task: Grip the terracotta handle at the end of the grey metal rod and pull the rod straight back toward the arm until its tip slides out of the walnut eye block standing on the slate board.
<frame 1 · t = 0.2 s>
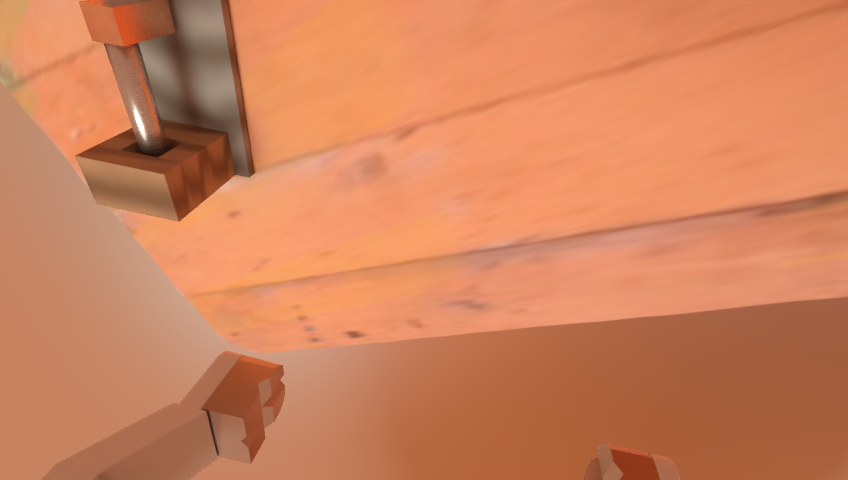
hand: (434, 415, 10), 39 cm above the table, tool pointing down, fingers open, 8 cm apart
eye post: (176, 36, 45), on the table
hook rod: (157, 108, 45), point 6 cm above the table, slide at 0.0 cm
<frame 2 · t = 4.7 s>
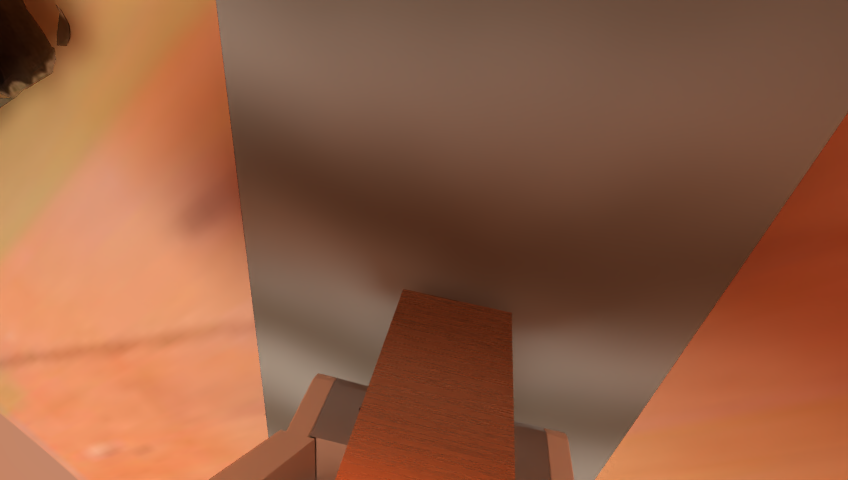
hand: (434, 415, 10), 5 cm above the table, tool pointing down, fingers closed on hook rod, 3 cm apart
eye post: (442, 350, 15), on the table
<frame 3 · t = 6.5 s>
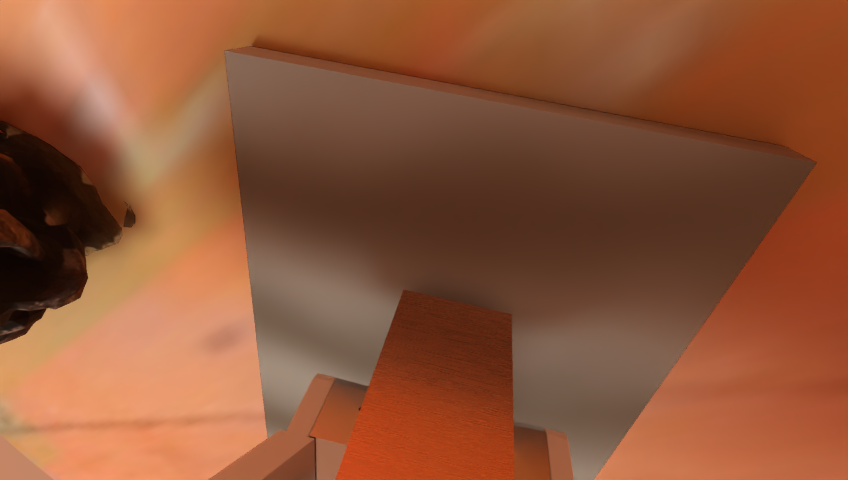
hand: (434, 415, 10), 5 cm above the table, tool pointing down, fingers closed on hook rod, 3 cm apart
eye post: (419, 443, 19), on the table
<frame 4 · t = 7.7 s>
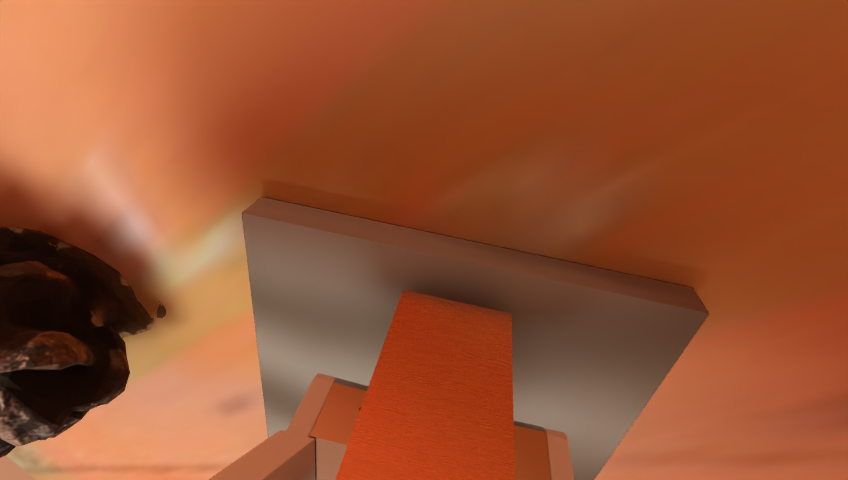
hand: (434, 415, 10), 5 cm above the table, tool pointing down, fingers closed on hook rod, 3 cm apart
pine cone: (9, 283, 19), on the table
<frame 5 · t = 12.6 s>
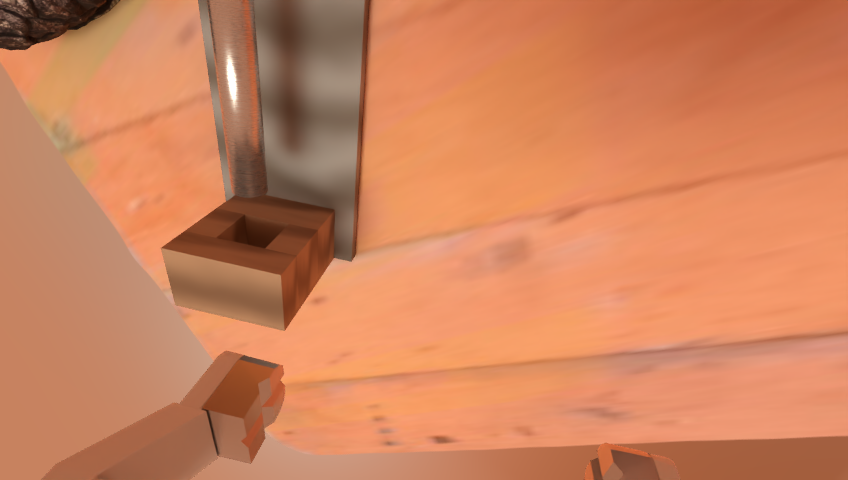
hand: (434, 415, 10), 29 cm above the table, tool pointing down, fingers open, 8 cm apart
eye post: (289, 97, 37), on the table
hook rod: (252, 48, 29), point 6 cm above the table, slide at 11.0 cm
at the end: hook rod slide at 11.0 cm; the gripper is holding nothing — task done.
